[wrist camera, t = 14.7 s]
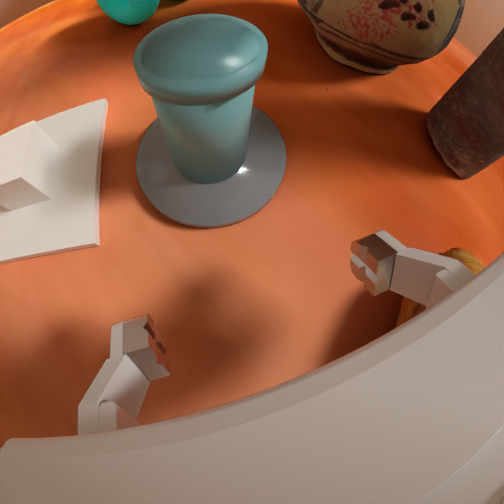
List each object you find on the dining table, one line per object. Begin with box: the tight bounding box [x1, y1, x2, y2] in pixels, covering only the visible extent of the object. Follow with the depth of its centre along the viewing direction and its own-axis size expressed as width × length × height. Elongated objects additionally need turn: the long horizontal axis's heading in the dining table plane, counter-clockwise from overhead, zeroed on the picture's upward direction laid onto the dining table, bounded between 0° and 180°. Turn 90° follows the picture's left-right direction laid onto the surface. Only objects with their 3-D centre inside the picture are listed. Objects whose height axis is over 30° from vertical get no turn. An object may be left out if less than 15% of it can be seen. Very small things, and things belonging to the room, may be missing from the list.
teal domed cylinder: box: [133, 14, 268, 184], centre depth 13 cm, size 5×5×9 cm
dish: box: [136, 105, 286, 229], centre depth 18 cm, size 10×10×1 cm
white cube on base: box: [0, 98, 108, 264], centre depth 15 cm, size 12×12×5 cm
